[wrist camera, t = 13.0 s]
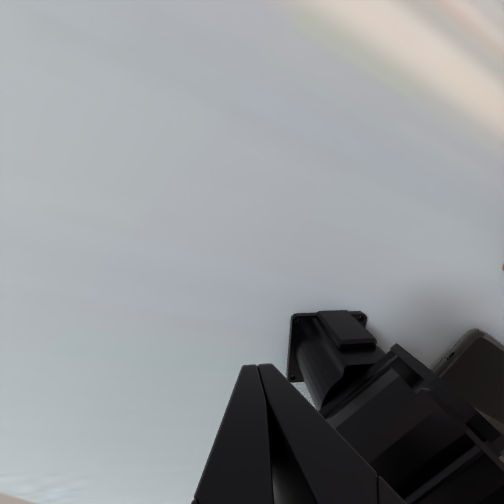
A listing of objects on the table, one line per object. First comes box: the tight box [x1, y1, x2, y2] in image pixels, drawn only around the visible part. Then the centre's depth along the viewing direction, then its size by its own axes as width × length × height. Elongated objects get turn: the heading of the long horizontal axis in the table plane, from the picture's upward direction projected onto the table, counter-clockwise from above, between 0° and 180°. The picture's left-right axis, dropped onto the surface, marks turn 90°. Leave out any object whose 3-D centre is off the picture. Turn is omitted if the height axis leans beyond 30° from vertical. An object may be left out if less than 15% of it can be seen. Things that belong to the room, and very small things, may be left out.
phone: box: [432, 329, 504, 436], centre depth 25 cm, size 8×1×15 cm
